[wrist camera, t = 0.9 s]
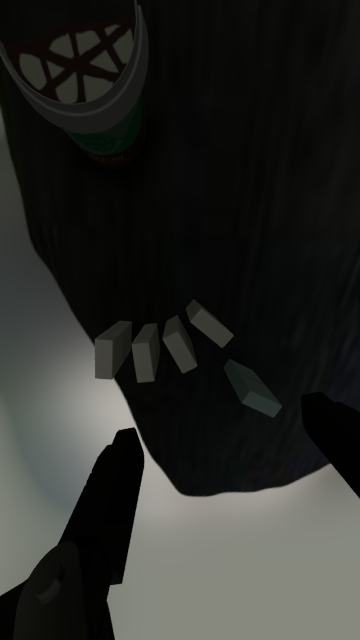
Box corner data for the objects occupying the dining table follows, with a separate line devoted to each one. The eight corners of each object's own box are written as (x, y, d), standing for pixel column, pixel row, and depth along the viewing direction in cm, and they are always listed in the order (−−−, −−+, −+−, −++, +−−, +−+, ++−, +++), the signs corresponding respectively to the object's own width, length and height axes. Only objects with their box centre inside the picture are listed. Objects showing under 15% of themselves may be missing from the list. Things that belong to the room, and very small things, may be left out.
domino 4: (193, 298, 28) (201, 308, 19) (216, 318, 29) (234, 335, 20) (185, 308, 28) (189, 322, 20) (208, 327, 29) (222, 348, 20)
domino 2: (157, 323, 29) (148, 342, 20) (160, 351, 30) (154, 381, 21) (144, 324, 29) (131, 344, 20) (148, 352, 30) (137, 382, 21)
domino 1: (132, 321, 29) (112, 340, 20) (131, 349, 30) (112, 379, 21) (119, 320, 29) (94, 339, 20) (118, 348, 30) (95, 378, 21)
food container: (80, 188, 24) (15, 128, 14) (64, 135, 23) (-19, 29, 13) (166, 169, 24) (160, 95, 14) (156, 114, 22) (142, -10, 13)
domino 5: (229, 358, 31) (250, 390, 22) (252, 370, 31) (282, 405, 22) (223, 367, 31) (241, 403, 22) (246, 379, 32) (273, 417, 23)
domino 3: (177, 315, 29) (177, 331, 20) (191, 340, 30) (197, 366, 21) (166, 320, 29) (162, 339, 20) (180, 345, 30) (182, 373, 21)
